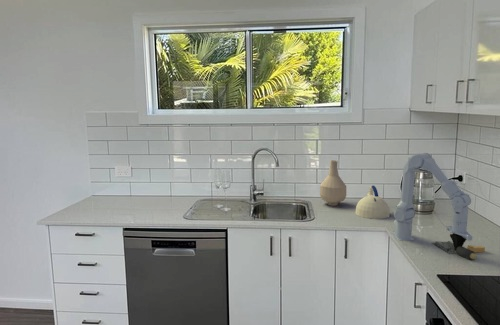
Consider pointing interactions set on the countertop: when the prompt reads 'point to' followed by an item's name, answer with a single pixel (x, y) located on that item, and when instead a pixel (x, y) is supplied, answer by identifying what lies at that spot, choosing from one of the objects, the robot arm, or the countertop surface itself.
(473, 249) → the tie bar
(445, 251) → the board
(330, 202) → the vase
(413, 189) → the robot arm
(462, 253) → the dark grey cylinder
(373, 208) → the kettle
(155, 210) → the countertop surface
